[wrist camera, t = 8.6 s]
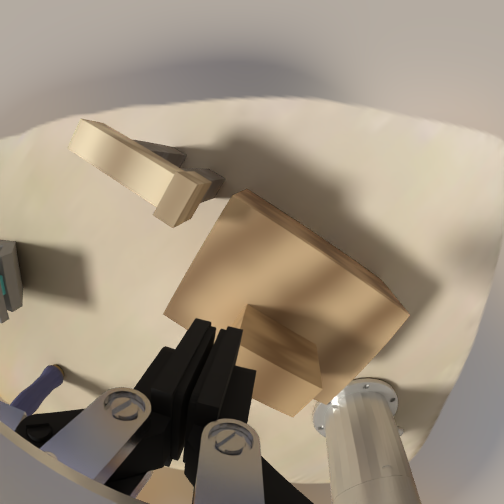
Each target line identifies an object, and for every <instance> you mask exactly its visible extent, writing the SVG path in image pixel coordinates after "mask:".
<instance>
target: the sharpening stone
mask: <svg viewBox="0 0 504 504" xmlns="http://www.w3.org/2000/svg"><path fill="white" fill-rule="evenodd" d="M22 299H23V285H22V280H21V274H20V269H19V263H18V256H17V249H16V241H6V240H0V323H3V322H5V321H6V320H8V319H9V316H8V313H7V310H9V311H11V312H14V311H15V310H17V309H18V308H20V307H22Z"/></svg>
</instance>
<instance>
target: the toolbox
mask: <svg viewBox="0 0 504 504" xmlns="http://www.w3.org/2000/svg"><path fill="white" fill-rule="evenodd" d="M133 141H135V142H137V143H138V144H140V145H142V146H143V147H145V148H147V149H149V150H150V151H152V152H154V153H155V154H157V155H159V156H160V157H162V158H164V159H165V160H167V161H169V162H170V163H172V164H174V165H175V166H177V167H179V168H180V166H181V164H182V162H183V161H184V159H185V157H186V155H185V154H183V153H182V152H180V151H178V150H177V149H175V148H173V147H170V146H165V145H160V144H154V143H149V142H143V141H138V140H133ZM180 169H182V170H184V171H195V172H196V173H198V174H200V175H201V176H203V177H204V178H206V179H208V180H209V181H211V182H212V183H211V185H210V187H209V189H208V190H207V192H206V194H205V195H204V197H203V199H202V200H201V202H200V203H202V202H204V201H207V200H210V199H212V198H214V197H215V195H216V193H217V192H218V190H219V188H220V187H221V185H222V183H223V182H224V180H225V178H223V177H222V176H220V175H218V174H217V173H215V172H213V171H212V170H210V169H185V168H180ZM235 195H237V196H238V197H240V198H242V199H243V200H245V201H246V202H248V203H250V204H251V205H253V206H254V207H256V208H257V209H259V210H261V211H262V212H264V213H265V214H267V215H268V216H270V217H271V218H273V219H275V220H276V221H278V222H279V223H281V224H282V225H284V226H285V227H287V228H288V229H290V230H291V231H293V232H294V233H296V234H297V235H299V236H300V237H302V238H303V239H305V240H307V241H308V242H310V243H311V244H312V245H314V246H315V247H317V248H318V249H320V250H321V251H323V252H324V253H326V254H327V255H329V256H330V257H332V258H333V259H335V260H336V261H338V262H339V263H341V264H342V265H343V266H345V267H346V268H348V269H349V270H351V271H352V272H354V273H355V274H357V275H358V276H359V277H361V278H362V279H364V280H365V281H367V282H368V283H369V284H371V285H372V286H374V287H375V288H376V289H378V290H379V291H381V292H382V293H384V294H385V295H386V296H388V297H389V298H391V299H392V300H393V301H395V302H396V303H398V304H399V305H400V306H402V304H401V303H400V302H399V301H398V299H397V298H396V297H395V296H394V294H393V293H392V292H391V291H390V290H389V288H388V287H387V286H386V285H385V284H384V282H383V281H382V280H381V279H380V278H378V277H377V276H376V275H374V274H373V273H371V272H370V271H369V270H367V269H366V268H364V267H363V266H362V265H360V264H359V263H357V262H356V261H355V260H353V259H352V258H350V257H349V256H347V255H346V254H345V253H343V252H342V251H340V250H339V249H337V248H336V247H335V246H333V245H332V244H330V243H329V242H327V241H326V240H324V239H323V238H321V237H320V236H318V235H317V234H315V233H314V232H312V231H311V230H310V229H308V228H307V227H305V226H304V225H302V224H301V223H299V222H298V221H296V220H294V219H293V218H291V217H290V216H288V215H287V214H285V213H284V212H282V211H281V210H279V209H278V208H276V207H275V206H273V205H272V204H270V203H268V202H267V201H265V200H264V199H262V198H261V197H259V196H257V195H256V194H254V193H253V192H251V191H250V190H248V189H246V190H243V191H241V192H239V193H237V194H235ZM402 307H403V306H402ZM403 308H404V307H403ZM404 309H405V308H404Z"/></svg>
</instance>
